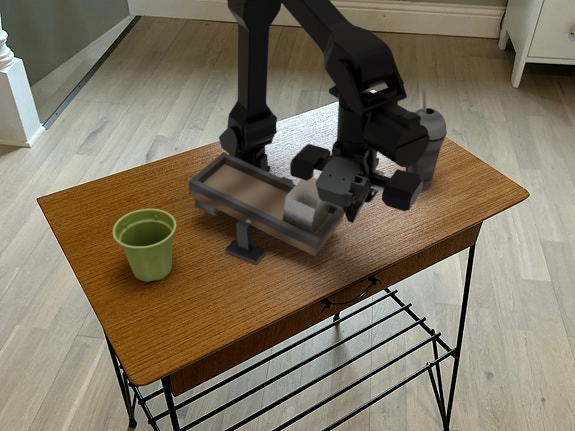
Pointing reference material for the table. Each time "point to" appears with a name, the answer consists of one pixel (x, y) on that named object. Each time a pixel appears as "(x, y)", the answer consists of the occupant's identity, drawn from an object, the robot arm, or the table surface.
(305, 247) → the grey tray
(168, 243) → the plant pot
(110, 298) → the table surface
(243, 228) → the stand
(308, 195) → the steel rider
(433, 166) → the beverage cup
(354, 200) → the robot arm
